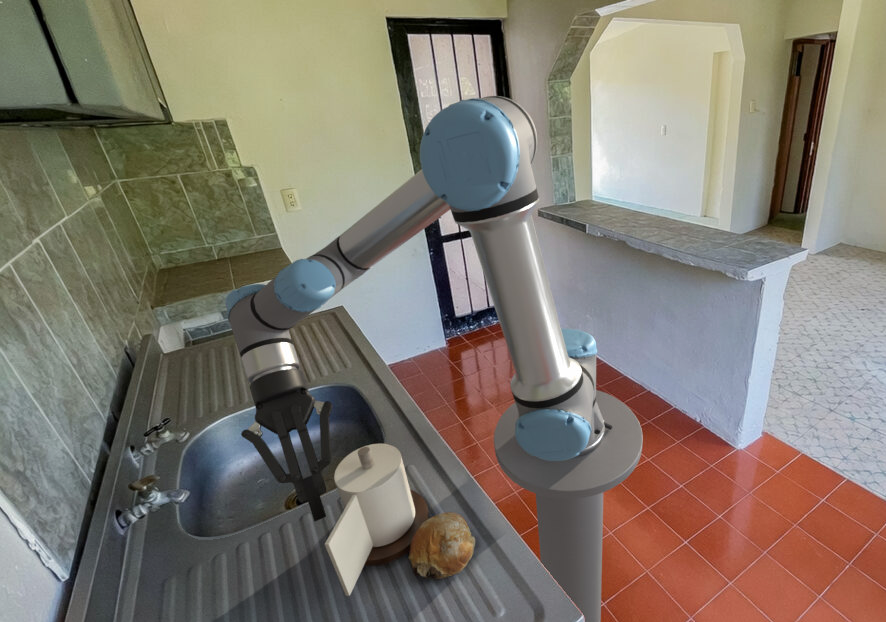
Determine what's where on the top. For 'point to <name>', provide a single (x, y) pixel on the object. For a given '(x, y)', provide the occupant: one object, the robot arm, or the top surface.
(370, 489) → the paper towel roll
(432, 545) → the bread roll
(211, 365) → the top surface
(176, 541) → the top surface
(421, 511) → the towel holder
